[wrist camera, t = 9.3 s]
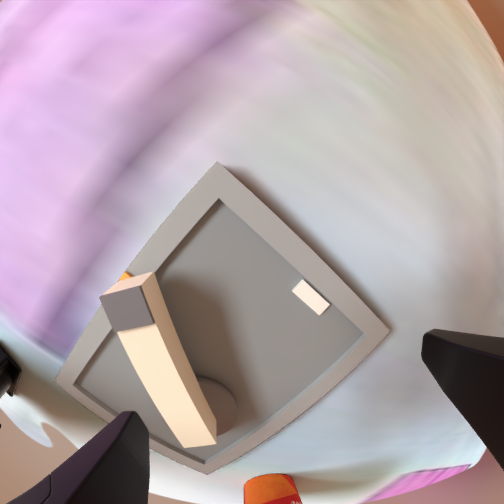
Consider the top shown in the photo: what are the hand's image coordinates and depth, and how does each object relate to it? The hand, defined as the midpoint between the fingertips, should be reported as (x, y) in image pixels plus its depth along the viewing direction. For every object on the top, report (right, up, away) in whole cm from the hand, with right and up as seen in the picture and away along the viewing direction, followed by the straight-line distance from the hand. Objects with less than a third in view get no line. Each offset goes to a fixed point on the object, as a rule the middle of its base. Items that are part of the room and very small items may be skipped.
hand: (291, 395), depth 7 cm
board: (-4, -4, +12) cm, 14 cm away
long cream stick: (-6, -4, +11) cm, 13 cm away
